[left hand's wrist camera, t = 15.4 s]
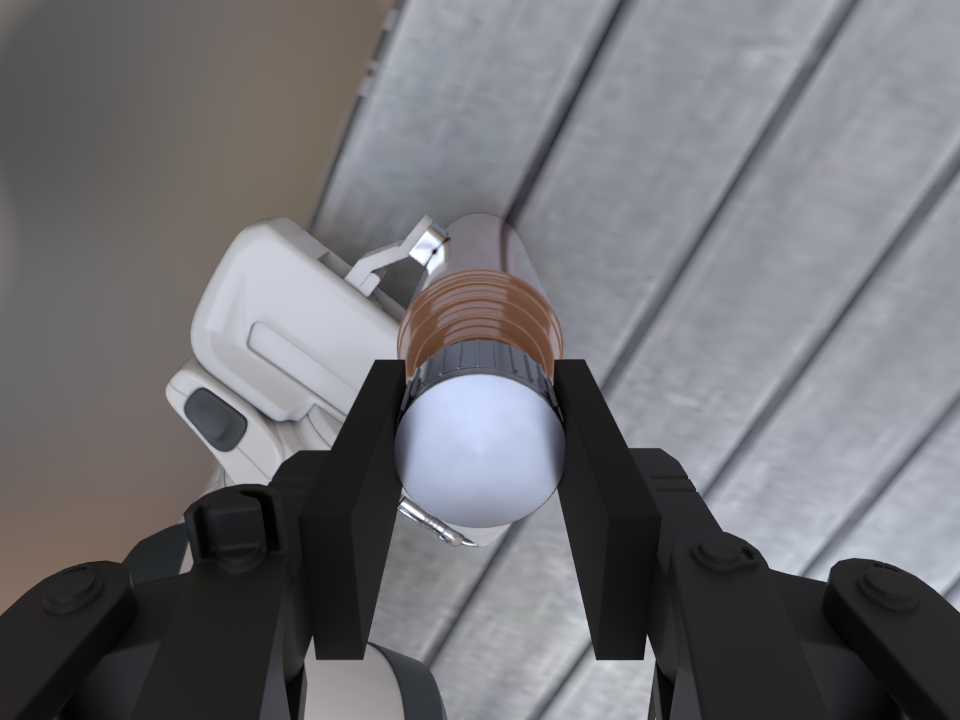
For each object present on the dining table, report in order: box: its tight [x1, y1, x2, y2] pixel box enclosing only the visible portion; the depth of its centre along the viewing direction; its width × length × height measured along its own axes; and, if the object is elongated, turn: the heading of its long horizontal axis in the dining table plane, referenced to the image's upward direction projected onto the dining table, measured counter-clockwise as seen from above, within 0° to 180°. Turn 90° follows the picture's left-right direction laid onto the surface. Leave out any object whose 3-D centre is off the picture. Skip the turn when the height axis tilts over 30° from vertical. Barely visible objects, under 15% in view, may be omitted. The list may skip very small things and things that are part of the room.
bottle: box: [397, 213, 563, 385], centre depth 24 cm, size 6×6×23 cm
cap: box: [394, 339, 566, 528], centre depth 14 cm, size 4×4×2 cm
